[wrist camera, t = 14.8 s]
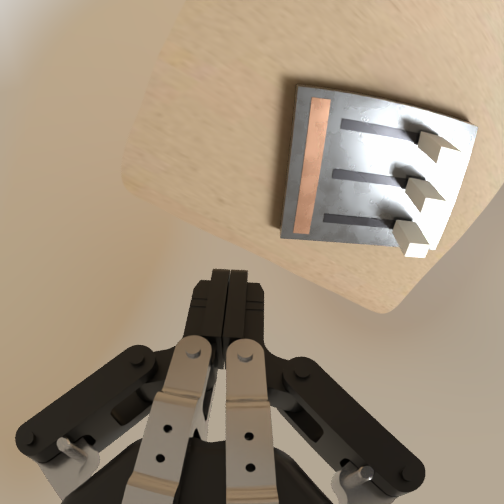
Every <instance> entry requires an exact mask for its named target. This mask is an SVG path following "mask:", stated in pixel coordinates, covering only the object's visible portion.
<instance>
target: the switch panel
mask: <svg viewBox="0 0 504 504" xmlns="http://www.w3.org/2000/svg"><path fill="white" fill-rule="evenodd" d="M477 130H478V127H477V126H475V125H474V124H472V123H470V122H467V121H464V120H462V119H459V118H455V117H452V116H449V115H446V114H443V113H439V112H436V111H433V110H429V109H426V108H422V107H418V106H415V105H411V104H407V103H403V102H399V101H394V100H390V99H386V98H381V97H376V96H372V95H367V94H361V93H356V92H351V91H345V90H339V89H332V88H326V87H318V86H311V85H303V84H296V91H295V101H294V111H293V120H292V130H291V139H290V148H289V157H288V165H287V174H286V183H285V191H284V199H283V207H282V215H281V223H280V238H284V239H299V240H313V241H327V242H341V243H354V244H367V245H380V246H393V247H399V245H398V243H397V241H396V239H395V237H394V235H393V233H392V231H393V228H394V225H395V222H396V220H404V221H412V222H416V223H417V225H418V226H419V228H420V229H421V231H422V232H423V234H424V235H425V237H426V239H427V240H428V242H429V243H430V247H429V250H435V249H436V247H437V245H438V242H439V240H440V238H441V235H442V233H443V230H444V228H445V226H446V223H447V221H448V218H449V216H450V213H451V210H452V208H453V205H454V202H455V200H456V197H457V194H458V191H459V189H460V186H461V183H462V180H463V177H464V174H465V171H466V168H467V164H468V161H469V158H470V155H471V151H472V148H473V144H474V141H475V137H476V133H477ZM421 131H422V132H426V133H430V134H434V135H438V136H442V137H443V138H445V139H446V140H447V141H449V142H450V143H451V144H453V145H454V146H455V147H457V148H458V149H459V150H461V151H462V152H463V155H462V158H461V161H460V165H459V168H458V169H455V168H451V167H447V166H442V165H438V164H436V163H435V162H434V161H432V160H431V159H430V158H429V157H428V156H427V155H426V154H425V153H423V152H422V151H421V150H420V149H419V148H418V147H417V146H418V142H419V138H420V134H421ZM409 178H414V179H420V180H425V181H429V182H430V183H431V184H432V185H433V186H434V187H435V188H436V189H437V190H438V192H439V193H440V194H441V195H442V196H443V197H444V198H445V199H446V201H447V203H446V206H445V209H444V211H443V214H442V216H434V215H427V214H420V212H419V211H418V209H417V208H416V207H415V205H414V204H413V203H412V201H411V200H410V198H409V197H408V196H407V194H406V193H405V189H406V186H407V183H408V179H409Z"/></svg>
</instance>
